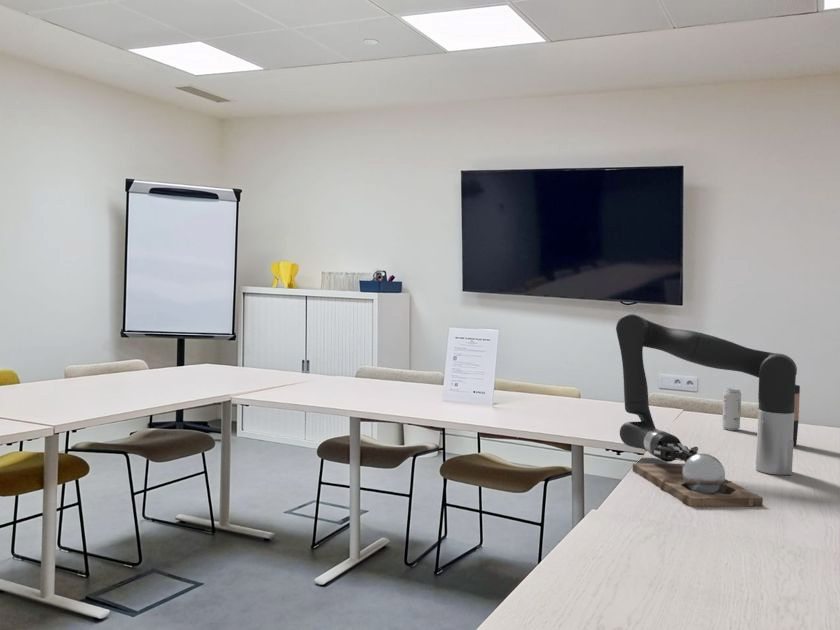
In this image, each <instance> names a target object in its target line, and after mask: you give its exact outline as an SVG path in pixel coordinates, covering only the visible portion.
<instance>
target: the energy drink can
mask: <svg viewBox="0 0 840 630" xmlns="http://www.w3.org/2000/svg"><path fill="white" fill-rule="evenodd" d="M722 395H723V398H722V399H723V401H722V417H721V420H722V421H721V426H722V427H723V430H725V429H728V430H727V431H732V430H737V431H739V429H740V427H741V411H742V410H741V409H742V408H741V407H742V406H741V405H742V393H741V389H740V388H737V387H736V388H735V387H726V388H725V390H724V391H723V394H722Z"/></svg>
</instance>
